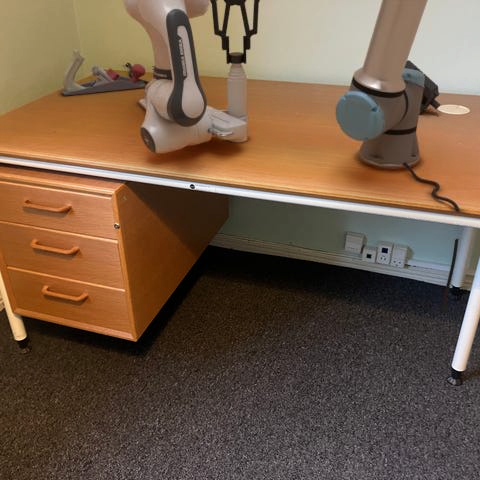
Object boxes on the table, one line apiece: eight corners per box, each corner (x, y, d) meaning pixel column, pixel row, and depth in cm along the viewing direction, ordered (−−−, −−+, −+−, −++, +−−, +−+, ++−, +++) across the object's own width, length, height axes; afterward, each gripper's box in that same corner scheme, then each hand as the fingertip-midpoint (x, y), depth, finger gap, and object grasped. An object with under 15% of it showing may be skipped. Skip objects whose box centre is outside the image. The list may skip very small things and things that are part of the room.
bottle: (245, 134, 156) (244, 52, 143) (249, 141, 151) (248, 57, 139) (227, 136, 155) (224, 53, 143) (230, 143, 150) (228, 58, 138)
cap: (232, 59, 144) (231, 51, 143) (245, 60, 143) (245, 52, 142) (227, 63, 141) (226, 55, 140) (241, 64, 140) (240, 55, 138)
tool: (378, 91, 179) (405, 54, 169) (421, 128, 175) (451, 93, 164) (370, 95, 176) (396, 58, 165) (413, 134, 171) (443, 98, 161)
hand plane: (62, 90, 197) (53, 48, 189) (145, 82, 205) (140, 41, 197) (62, 96, 191) (54, 53, 184) (148, 87, 199) (143, 45, 191)
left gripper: (220, 125, 134) (263, 114, 141) (178, 105, 148) (219, 96, 155) (221, 149, 138) (263, 136, 145) (180, 127, 152) (220, 117, 159)
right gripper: (268, -39, 132) (267, 58, 145) (201, -37, 133) (205, 59, 145) (269, -36, 126) (268, 65, 138) (198, -34, 126) (204, 66, 139)
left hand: (240, 115), depth 150 cm, fingers closed on bottle, 5 cm apart
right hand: (236, 62), depth 142 cm, fingers closed on cap, 4 cm apart
